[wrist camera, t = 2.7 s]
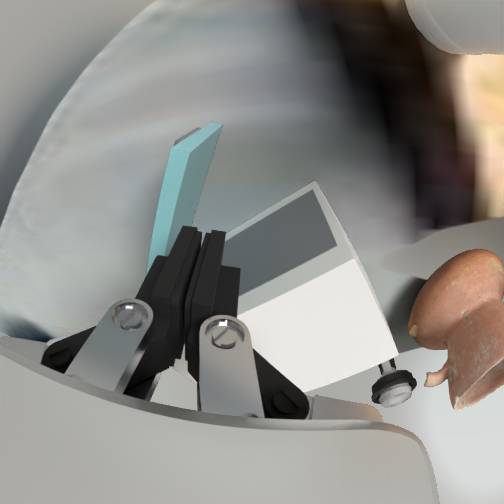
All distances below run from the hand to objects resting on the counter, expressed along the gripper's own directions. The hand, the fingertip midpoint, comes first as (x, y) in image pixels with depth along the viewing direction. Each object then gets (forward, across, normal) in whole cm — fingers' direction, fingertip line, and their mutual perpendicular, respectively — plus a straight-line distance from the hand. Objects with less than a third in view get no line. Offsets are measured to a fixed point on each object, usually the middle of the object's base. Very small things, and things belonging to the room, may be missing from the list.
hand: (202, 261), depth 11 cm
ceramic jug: (+12, -29, +7) cm, 32 cm away
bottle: (+12, -15, -20) cm, 27 cm away
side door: (+12, +3, +3) cm, 12 cm away
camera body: (+12, -5, +8) cm, 16 cm away
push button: (+12, -20, +16) cm, 28 cm away
